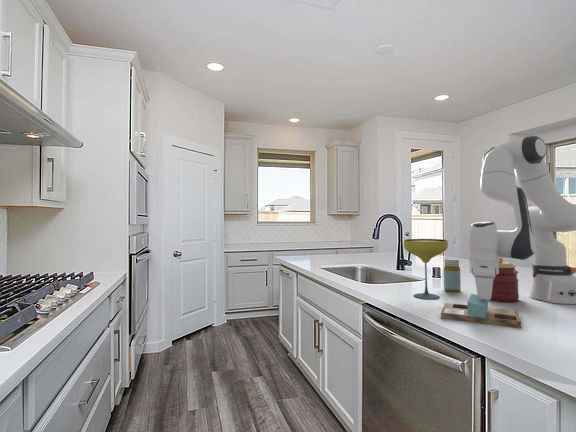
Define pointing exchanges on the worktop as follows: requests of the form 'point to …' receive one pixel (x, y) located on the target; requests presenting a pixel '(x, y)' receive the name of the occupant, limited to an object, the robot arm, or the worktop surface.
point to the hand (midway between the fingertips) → (484, 307)
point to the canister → (505, 283)
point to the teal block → (477, 306)
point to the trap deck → (492, 317)
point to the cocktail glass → (426, 257)
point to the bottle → (452, 275)
